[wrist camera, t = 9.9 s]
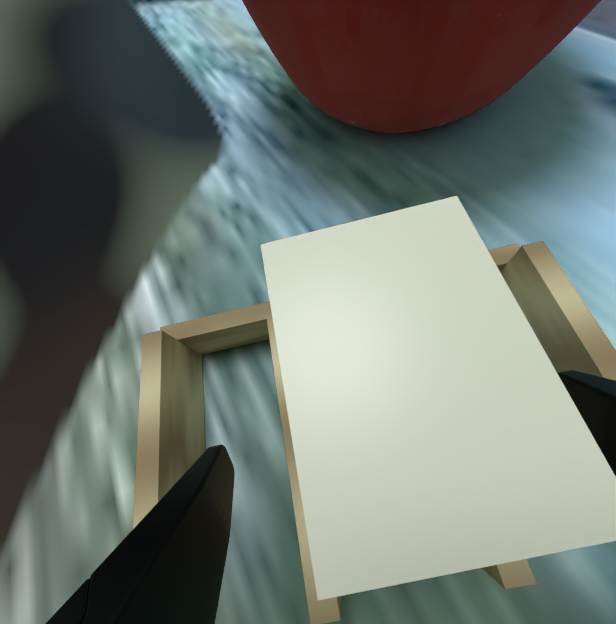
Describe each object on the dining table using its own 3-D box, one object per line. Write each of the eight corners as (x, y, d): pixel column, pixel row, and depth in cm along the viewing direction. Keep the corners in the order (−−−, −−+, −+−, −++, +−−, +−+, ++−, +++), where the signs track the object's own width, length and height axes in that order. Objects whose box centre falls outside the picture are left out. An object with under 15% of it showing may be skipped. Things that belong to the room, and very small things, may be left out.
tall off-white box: (414, 465, 15) (649, 534, 3) (344, 480, 15) (317, 599, 3) (384, 368, 17) (457, 195, 5) (322, 382, 17) (260, 244, 5)
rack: (625, 514, 13) (812, 561, 8) (190, 599, 14) (91, 693, 9) (493, 272, 19) (550, 202, 13) (186, 343, 20) (124, 304, 14)
